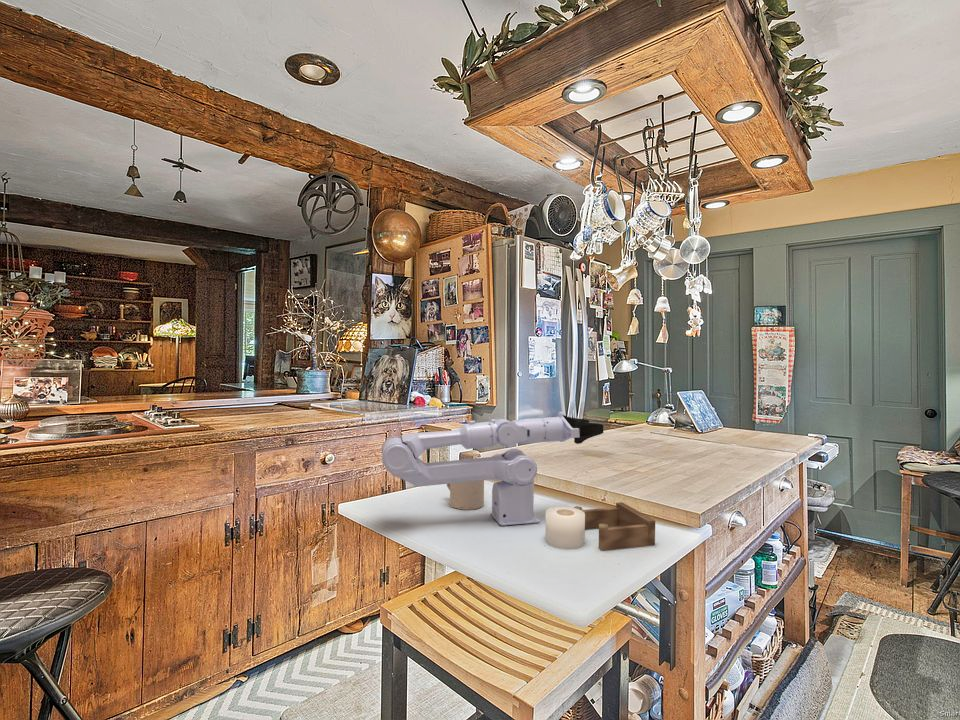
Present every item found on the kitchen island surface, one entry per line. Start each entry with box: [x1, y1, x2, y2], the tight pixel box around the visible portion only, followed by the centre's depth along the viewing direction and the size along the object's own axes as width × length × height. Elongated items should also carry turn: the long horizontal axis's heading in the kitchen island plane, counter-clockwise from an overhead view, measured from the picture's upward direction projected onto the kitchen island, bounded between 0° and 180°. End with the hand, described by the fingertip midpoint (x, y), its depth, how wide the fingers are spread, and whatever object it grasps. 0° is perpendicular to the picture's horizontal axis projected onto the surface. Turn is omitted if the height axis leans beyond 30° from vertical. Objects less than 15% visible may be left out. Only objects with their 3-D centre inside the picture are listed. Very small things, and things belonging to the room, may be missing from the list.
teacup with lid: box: [445, 480, 485, 511], centre depth 125 cm, size 12×9×12 cm
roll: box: [544, 506, 586, 550], centre depth 101 cm, size 8×8×6 cm
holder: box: [573, 501, 656, 552], centre depth 104 cm, size 12×13×5 cm
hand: (595, 426), depth 118 cm, fingers open, 7 cm apart
